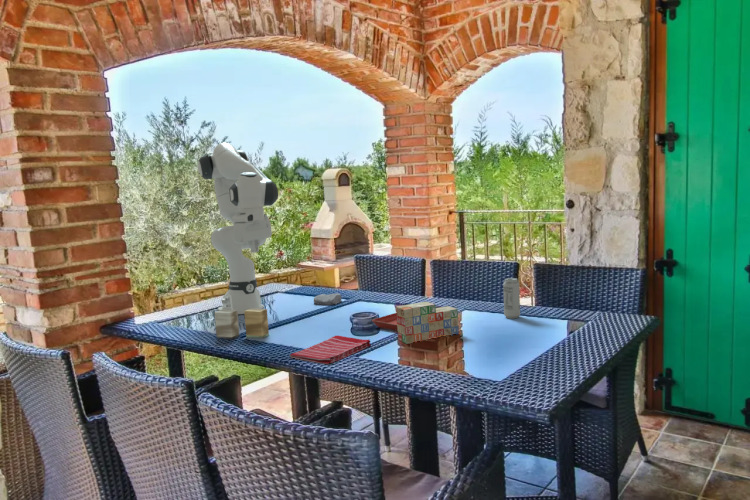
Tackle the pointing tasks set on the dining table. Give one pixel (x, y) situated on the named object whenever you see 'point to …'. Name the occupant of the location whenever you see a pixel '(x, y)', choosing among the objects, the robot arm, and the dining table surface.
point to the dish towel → (332, 349)
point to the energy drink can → (511, 298)
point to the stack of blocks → (425, 321)
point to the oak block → (256, 323)
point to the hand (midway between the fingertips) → (254, 252)
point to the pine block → (227, 324)
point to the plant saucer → (387, 322)
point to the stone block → (327, 299)
